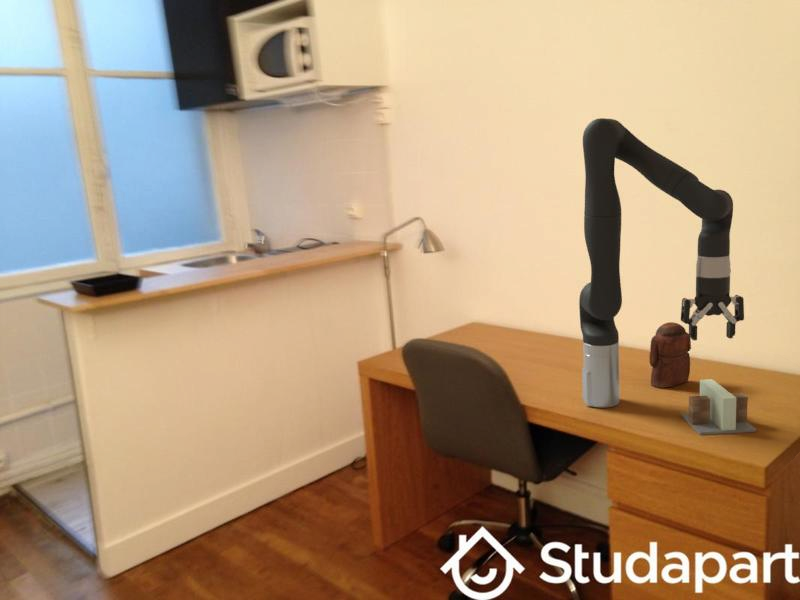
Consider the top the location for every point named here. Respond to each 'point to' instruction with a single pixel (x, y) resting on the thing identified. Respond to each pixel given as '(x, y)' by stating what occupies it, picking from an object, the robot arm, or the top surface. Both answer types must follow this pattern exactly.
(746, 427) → the charcoal base board
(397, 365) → the top surface
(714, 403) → the pale green upright slab
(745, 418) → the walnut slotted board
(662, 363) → the wooden figurine
